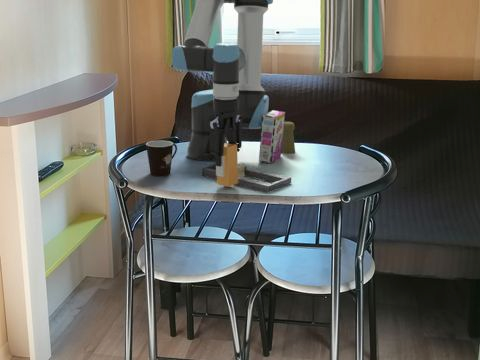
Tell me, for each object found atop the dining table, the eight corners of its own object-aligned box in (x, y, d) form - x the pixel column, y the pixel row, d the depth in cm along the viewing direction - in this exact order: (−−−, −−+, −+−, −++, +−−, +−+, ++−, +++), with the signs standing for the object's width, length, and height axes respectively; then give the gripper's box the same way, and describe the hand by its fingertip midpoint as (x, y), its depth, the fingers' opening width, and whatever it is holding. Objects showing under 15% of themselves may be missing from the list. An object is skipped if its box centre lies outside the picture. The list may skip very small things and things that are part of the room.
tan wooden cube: (226, 177, 215) (226, 165, 213) (234, 175, 218) (234, 163, 216) (236, 180, 212) (236, 168, 211) (244, 177, 215) (244, 165, 214)
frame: (201, 175, 217) (201, 168, 216) (223, 168, 225) (223, 161, 224) (225, 181, 211) (225, 173, 210) (246, 174, 219) (246, 166, 218)
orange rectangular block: (217, 184, 204) (215, 145, 201) (226, 181, 207) (225, 142, 204) (228, 186, 201) (227, 147, 198) (238, 183, 204) (237, 144, 201)
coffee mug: (152, 178, 213) (151, 148, 210) (143, 172, 220) (142, 142, 217) (186, 174, 218) (186, 144, 215) (176, 167, 225) (175, 138, 222)
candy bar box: (272, 164, 230) (275, 117, 225) (258, 162, 232) (261, 115, 227) (281, 156, 240) (285, 111, 235) (268, 154, 242) (272, 109, 237)
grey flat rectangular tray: (224, 181, 210) (224, 175, 210) (248, 173, 219) (248, 167, 219) (268, 192, 200) (268, 186, 199) (291, 183, 209) (291, 177, 208)
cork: (284, 148, 251) (285, 119, 248) (298, 151, 248) (299, 121, 245) (275, 152, 247) (276, 122, 243) (289, 154, 243) (290, 124, 240)
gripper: (216, 103, 188) (216, 183, 195) (254, 95, 201) (253, 170, 208) (196, 99, 193) (197, 178, 199) (235, 92, 206) (234, 166, 212)
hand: (225, 173), depth 204 cm, fingers closed on orange rectangular block, 4 cm apart
